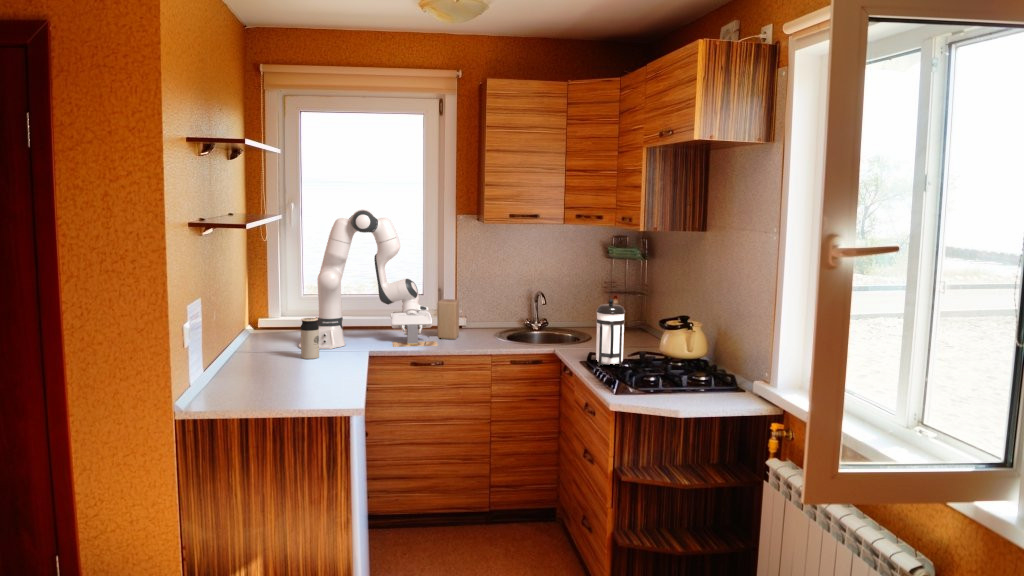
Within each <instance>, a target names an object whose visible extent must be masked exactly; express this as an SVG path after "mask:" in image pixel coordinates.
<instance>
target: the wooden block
mask: <svg viewBox="0 0 1024 576" xmlns="http://www.w3.org/2000/svg"><path fill="white" fill-rule="evenodd" d="M436 310H437V312H436V313H437V316H436V317H437V332H436V333H437V338H438V339H439V338H441V339H440V340H456V339H457V338H458V337H459V336H460V301H459V299H447V298H444V299H443V298H442V299H440V300H438V301H437V309H436Z"/></svg>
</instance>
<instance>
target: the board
mask: <svg viewBox="0 0 1024 576" xmlns="http://www.w3.org/2000/svg"><path fill="white" fill-rule="evenodd" d="M391 344H392V347H393V348H401V347H403V348H407V347H409V348H410V347H438V346H439V344H438V342H437V341H435V340H434V341H433V340H430V341H418V344H410V345H408V344H407V341H393V342H392V343H391Z"/></svg>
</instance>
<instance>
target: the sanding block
mask: <svg viewBox="0 0 1024 576" xmlns="http://www.w3.org/2000/svg"><path fill="white" fill-rule="evenodd" d="M406 330H407V335H406V342H407V344H408V345H410V344H418V342H419V335H418V330H419V328H418V325H407V328H406Z"/></svg>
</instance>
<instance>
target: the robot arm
mask: <svg viewBox="0 0 1024 576" xmlns="http://www.w3.org/2000/svg"><path fill="white" fill-rule="evenodd" d="M358 232H359V233H362V234H363V233H366V234H367V233H371V234H372V236H373V237H374V240H375V243H376V246H377V247H376V248H377V249H376V254H375V255H374V267H375V273H376V274H375V275H376V280H377V289H378V297H379V300H380V302H382V303H383V304H385V305H391V304H394V303H395V302H400V301H401V302H402V305H401V307H402V309H401V310H402V311H393V312H391V313H390V316H389V317H390V318H391V328H392V329H401V330H402V332H403V333H404V334H403V335H405V336H407V325H418V336H419V335H421V332H422V330H423V329H426V328H429V329H430V328H431V327H432V326H433V318H432V315H431V313H430V308H429V307H428V306H424V305H420V303H419V302H420V296H419V295H420V294H419V289H418V287H417V285H416V283H415V281H413V280H411V279H410V278H403V279H399V280H397V281H394V282H391V283H388V281H387V275H386V269H385V268H386V265H387V263H388V262H389V261H391V260H392V259H393V258H394V257H395V256H397V254H398V253H399V251H400V248H401V243H400V239H399V236H398V233H397V231H396V229H395V226H394V225H393V223H392V221H391V220H390V219H389V218H387V217H380V218H376V217H375V216H374V215H373V213H372V212H371V211H370V210H368V209H358V210H356V211H355V212H354V213H353V214H352V215H351V216H350V217H349V218H344V217H339V218H337V219H335V221H334V222H333V225H332V226H331V230H330V232H329V235H328V239H327V242H326V247H325V250H324V254H323V258H322V261H321V267H320V270H319V273H318V276H317V299H318V300H317V301H318V317H314V318H318V320H317V324H318V325H319V350H331V349H335V348H336V349H337V348H340V347H341V348H342V347H344V346H346V341H345V339H344V338H345V337H344V331H343V329H344V319H343V315H342V313H343V311H342V307H343V306H342V278H343V274H344V271H345V267H346V264H347V259H348V255H349V253H350V249H351V245H352V242H353V238H354V235H355V234H356V233H358ZM298 348H299V349H301V342H299V344H298Z"/></svg>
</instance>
